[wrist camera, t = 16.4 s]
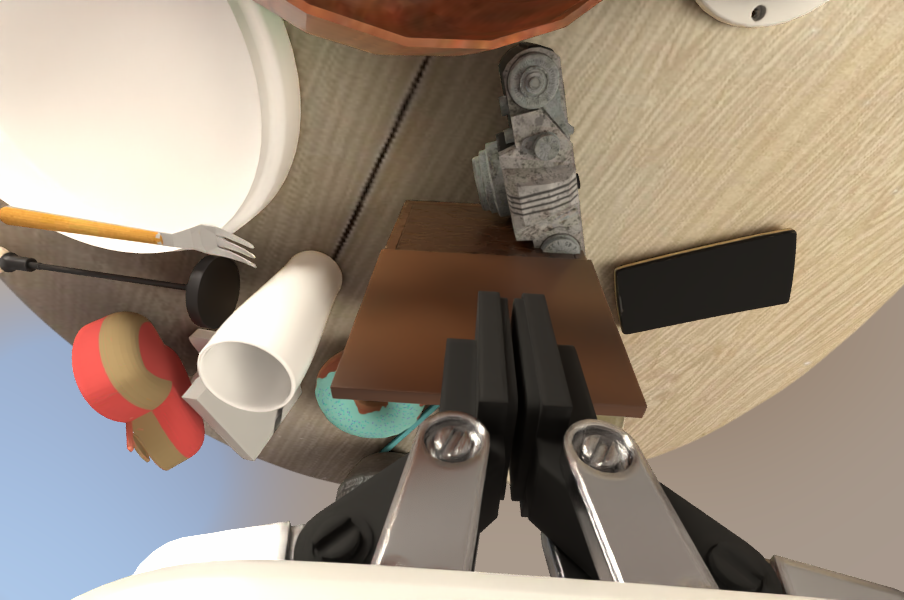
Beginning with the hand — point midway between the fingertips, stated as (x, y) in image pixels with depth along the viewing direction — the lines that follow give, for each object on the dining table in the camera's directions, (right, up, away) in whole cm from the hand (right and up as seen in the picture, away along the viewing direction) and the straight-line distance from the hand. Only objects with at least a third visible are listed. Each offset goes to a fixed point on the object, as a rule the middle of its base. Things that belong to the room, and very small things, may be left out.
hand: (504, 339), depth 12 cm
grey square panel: (-21, -9, +32) cm, 39 cm away
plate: (-26, +19, +22) cm, 39 cm away
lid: (0, 0, +12) cm, 12 cm away
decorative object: (-34, -3, +34) cm, 48 cm away
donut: (-10, -8, +37) cm, 39 cm away
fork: (-36, +8, +22) cm, 43 cm away
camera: (+4, +13, +23) cm, 27 cm away
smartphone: (+21, +3, +29) cm, 36 cm away
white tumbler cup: (-14, +4, +31) cm, 34 cm away
